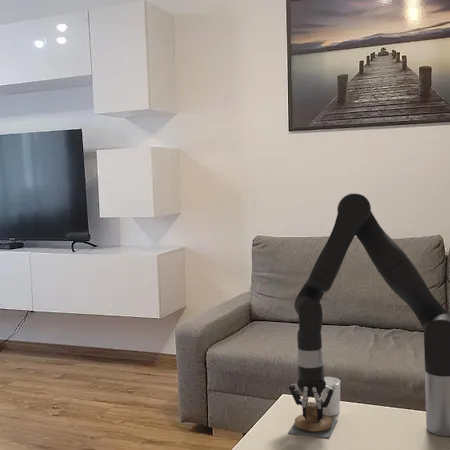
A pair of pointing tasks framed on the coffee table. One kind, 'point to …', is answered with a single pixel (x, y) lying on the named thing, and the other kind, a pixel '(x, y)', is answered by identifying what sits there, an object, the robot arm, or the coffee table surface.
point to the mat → (320, 434)
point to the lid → (313, 420)
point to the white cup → (334, 403)
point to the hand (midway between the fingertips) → (313, 418)
